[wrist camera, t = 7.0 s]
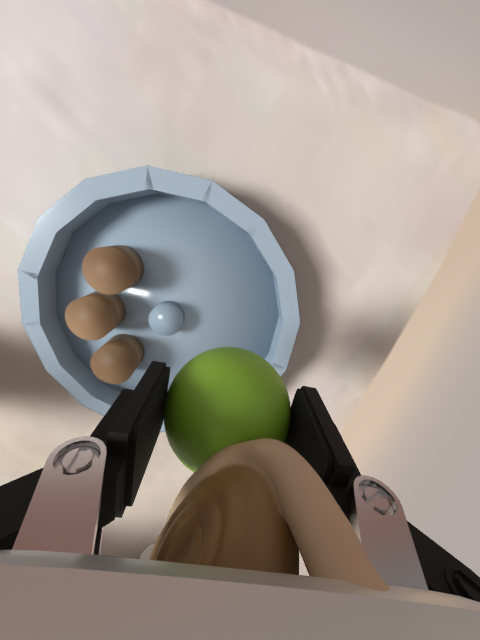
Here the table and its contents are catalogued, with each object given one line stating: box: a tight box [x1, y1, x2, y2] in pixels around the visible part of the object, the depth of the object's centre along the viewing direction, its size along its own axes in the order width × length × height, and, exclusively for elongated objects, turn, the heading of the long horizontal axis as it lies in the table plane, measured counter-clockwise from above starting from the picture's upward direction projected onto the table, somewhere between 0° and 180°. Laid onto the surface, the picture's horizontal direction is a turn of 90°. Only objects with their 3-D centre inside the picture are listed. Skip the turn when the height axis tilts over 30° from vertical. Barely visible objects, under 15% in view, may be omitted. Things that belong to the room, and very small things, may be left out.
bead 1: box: [82, 245, 144, 295], centre depth 17 cm, size 3×3×2 cm
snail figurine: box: [149, 347, 390, 591], centre depth 8 cm, size 5×6×12 cm
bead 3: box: [90, 334, 145, 384], centre depth 19 cm, size 3×3×2 cm
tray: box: [18, 165, 300, 432], centre depth 19 cm, size 19×19×3 cm
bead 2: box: [65, 291, 126, 340], centre depth 18 cm, size 3×3×2 cm
